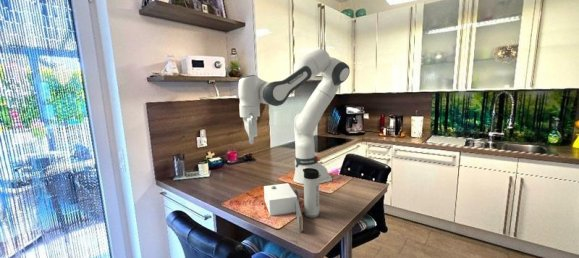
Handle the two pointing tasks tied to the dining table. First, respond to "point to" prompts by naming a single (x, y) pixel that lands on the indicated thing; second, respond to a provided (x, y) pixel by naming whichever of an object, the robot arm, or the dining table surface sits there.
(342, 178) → the dining table surface
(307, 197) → the travel mug
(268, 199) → the white box with hole
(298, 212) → the side door
